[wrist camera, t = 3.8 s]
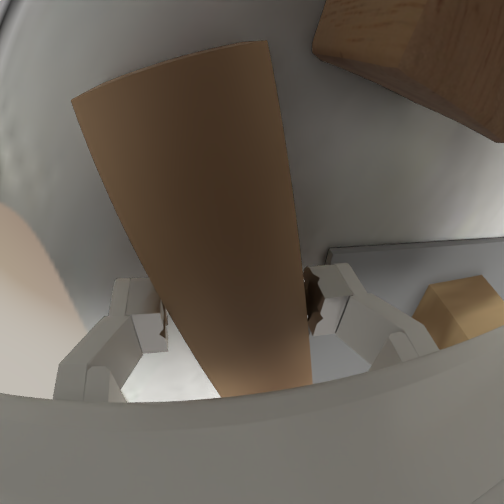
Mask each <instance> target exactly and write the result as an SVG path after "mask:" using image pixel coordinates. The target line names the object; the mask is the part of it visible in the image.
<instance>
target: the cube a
mask: <svg viewBox="0 0 504 504" xmlns="http://www.w3.org/2000/svg"><path fill="white" fill-rule="evenodd" d="M412 318H413V319H415V320H417V321H418V322H420V323H421V324H423V325H424V326H425V328H426V329H427V331H428V332H429V334H430V335H431V337H432V339H433V340H434V342H435V343H436V345H437V347H438V348H439V350H442V349H445V348H447V347H450V346H453V345H456V344H458V343H461V342H464V341H466V340H469V339H472V338H474V337H477V336H479V335H482V334H484V333H486V332H489V331H491V330H494V329H496V328H498V327H501V326H503V325H504V301H503V300H502V298H501V297H500V296H499V295H498V293H497V292H496V291H495V290H494V289H493V287H492V286H491V285H490V284H489V283H488V281H487V280H486V279H485V278H484V277H483V276H482V275H478V276H473V277H468V278H463V279H457V280H452V281H446V282H440V283H435V284H429V286H428V288H427V290H426V292H425V294H424V295H423V297H422V299H421V301H420V303H419V305H418V307H417V308H416V310H415V312H414V314H413V316H412Z"/></svg>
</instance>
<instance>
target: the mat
mask: <svg viewBox="0 0 504 504" xmlns="http://www.w3.org/2000/svg"><path fill="white" fill-rule="evenodd" d="M337 263H348V264H349V265H350V266H351V268H352V269H353V271H354V273H355V274H356V276H357V277H358V279H359V280H360V282H361V284H362V285H363V287H364V288H365V290H366V291H367V293H368V294H369V293H372V294H374V295H375V296H377V297H379V298H380V299H382V300H384V301H385V302H387V303H389V304H390V305H392V306H394V307H395V308H397V309H399V310H400V311H402V312H403V313H405V314H407V315H408V316H410V317H412V316H413V314H414V312H415V310H416V308H417V307H418V305H419V303H420V301H421V299H422V297H423V295H424V294H425V292H426V290H427V288H428V286H429V284H435V283H440V282H446V281H452V280H457V279H463V278H468V277H473V276H478V275H482V276H483V277H484V278H485V279H486V280H487V281H488V283H489V284H490V285H491V286H492V287H493V289H494V290H495V291H496V292H497V293H498V295H499V296H500V297H501V298H502V300H503V301H504V237H503V238H487V239H471V240H455V241H439V242H423V243H407V244H391V245H374V246H358V247H342V248H329V251H328V255H327V259H326V263H325V265H330V264H337ZM308 330H309V342H310V354H311V367H312V381H313V384H316V383H321V382H326V381H330V380H335V379H339V378H344V377H348V376H352V375H357V374H361V373H365V372H368V370H369V369H370V367H371V366H372V365H370V364H369V363H368V362H367V361H366V360H365V359H363V358H362V357H361V356H360V355H359V354H358V353H356V352H355V351H354V350H353V349H352V348H351V347H349V346H348V345H347V344H346V343H345V342H344V341H342V340H341V339H340V338H339V337H338V336H337V335H335V334H336V333H335V334H328V335H321V336H312V333H311V331H310V328H309V326H308Z"/></svg>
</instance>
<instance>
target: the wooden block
mask: <svg viewBox="0 0 504 504" xmlns="http://www.w3.org/2000/svg"><path fill="white" fill-rule="evenodd" d="M312 53H313V54H314V55H315V56H316V57H317V58H319V59H320V60H321V61H324V62H326V63H329V64H332V65H334V66H337V67H339V68H342V69H344V70H347V71H349V72H352V73H354V74H356V75H359V76H361V77H363V78H366V79H368V80H370V81H372V82H374V83H377V84H379V85H381V86H383V87H385V88H387V89H389V90H391V91H393V92H395V93H397V94H399V95H401V96H403V97H405V98H407V99H409V100H411V101H413V102H415V103H417V104H419V105H422V106H424V107H426V108H429V109H431V110H433V111H435V112H438V113H440V114H442V115H444V116H446V117H448V118H450V119H452V120H455V121H457V122H459V123H461V124H463V125H465V126H466V127H468V128H470V129H472V130H474V131H476V132H478V133H480V134H482V135H483V136H485V137H487V138H489V139H490V140H492V141H494V142H496V143H504V0H326V3H325V6H324V9H323V12H322V15H321V18H320V21H319V24H318V27H317V30H316V33H315V36H314V39H313V42H312Z"/></svg>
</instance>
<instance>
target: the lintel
mask: <svg viewBox="0 0 504 504" xmlns="http://www.w3.org/2000/svg"><path fill="white" fill-rule="evenodd" d="M71 102H72V105H73V108H74V111H75V114H76V117H77V119H78V122H79V125H80V127H81V130H82V133H83V135H84V138H85V140H86V143H87V146H88V148H89V151H90V153H91V156H92V158H93V160H94V163H95V165H96V168H97V170H98V172H99V175H100V177H101V179H102V182H103V184H104V186H105V189H106V191H107V193H108V195H109V198H110V200H111V202H112V204H113V206H114V209H115V211H116V213H117V215H118V217H119V219H120V221H121V223H122V226H123V228H124V230H125V232H126V234H127V236H128V238H129V240H130V242H131V244H132V246H133V248H134V250H135V252H136V254H137V256H138V258H139V260H140V262H141V264H142V265H143V267H144V269H145V271H146V273H147V275H148V277H149V279H150V281H151V282H152V284H153V286H154V288H155V290H156V292H157V293H158V295H159V297H160V298H161V301H162V302H163V304H164V306H165V308H166V309H167V311H168V313H169V315H170V316H171V318H172V320H173V322H174V323H175V325H176V327H177V328H178V330H179V332H180V333H181V335H182V337H183V338H184V340H185V342H186V343H187V345H188V347H189V348H190V350H191V351H192V353H193V355H194V356H195V358H196V359H197V361H198V363H199V364H200V366H201V367H202V369H203V371H204V372H205V374H206V375H207V377H208V378H209V380H210V381H211V383H212V384H213V386H214V387H215V389H216V390H217V392H218V393H219V395H220V396H221V398H223V397H232V396H241V395H249V394H256V393H263V392H270V391H277V390H283V389H289V388H295V387H300V386H306V385H311V384H313V381H312V367H311V354H310V342H309V330H308V319H307V309H306V299H305V289H304V279H303V270H302V261H301V253H300V244H299V236H298V228H297V220H296V212H295V205H294V197H293V190H292V183H291V176H290V169H289V162H288V156H287V149H286V143H285V137H284V130H283V124H282V118H281V112H280V106H279V101H278V95H277V89H276V84H275V78H274V73H273V67H272V62H271V57H270V52H269V47H268V42H267V40H265V41H249V42H240V43H235V44H230V45H225V46H220V47H216V48H212V49H207V50H203V51H199V52H195V53H191V54H188V55H184V56H180V57H177V58H173V59H170V60H167V61H163V62H160V63H157V64H154V65H151V66H148V67H145V68H142V69H139V70H136V71H133V72H131V73H128V74H125V75H122V76H120V77H117V78H115V79H112V80H110V81H107V82H105V83H102V84H100V85H98V86H96V87H94V88H92V89H90V90H89V91H87V92H85V93H83V94H81V95H79V96H77V97H75V98H74V99H72V100H71Z"/></svg>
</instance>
